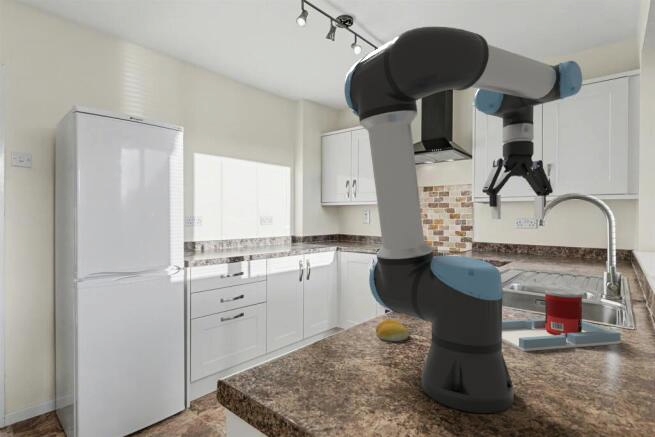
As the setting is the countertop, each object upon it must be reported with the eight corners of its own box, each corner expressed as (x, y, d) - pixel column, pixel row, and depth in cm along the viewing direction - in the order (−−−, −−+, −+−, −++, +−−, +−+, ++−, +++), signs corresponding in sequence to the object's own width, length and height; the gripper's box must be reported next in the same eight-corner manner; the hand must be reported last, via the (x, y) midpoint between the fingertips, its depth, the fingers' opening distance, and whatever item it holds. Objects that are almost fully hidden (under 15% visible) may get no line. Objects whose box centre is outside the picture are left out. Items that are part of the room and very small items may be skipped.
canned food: (587, 339, 87) (587, 295, 87) (552, 337, 89) (552, 294, 89) (573, 330, 95) (573, 289, 95) (540, 328, 96) (540, 288, 96)
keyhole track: (523, 351, 81) (523, 340, 81) (482, 331, 96) (482, 321, 96) (620, 343, 86) (620, 332, 86) (567, 325, 101) (567, 316, 101)
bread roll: (381, 343, 87) (381, 327, 87) (373, 331, 96) (373, 317, 96) (413, 342, 87) (413, 326, 87) (402, 330, 96) (402, 316, 96)
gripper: (486, 137, 90) (486, 219, 90) (567, 141, 95) (568, 219, 95) (469, 143, 98) (469, 219, 98) (545, 147, 102) (545, 219, 102)
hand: (517, 219), depth 96 cm, fingers open, 13 cm apart
